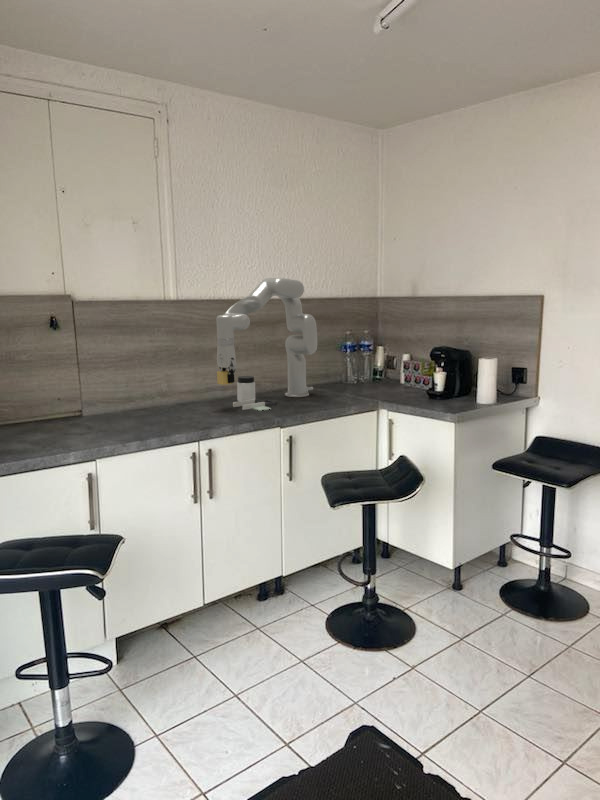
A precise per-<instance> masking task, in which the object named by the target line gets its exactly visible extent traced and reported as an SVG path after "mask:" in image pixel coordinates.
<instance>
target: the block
mask: <svg viewBox="0 0 600 800" xmlns="http://www.w3.org/2000/svg"><path fill="white" fill-rule="evenodd" d="M227 374H228V370H227V371H220V370H219V371H216V380H217V381H216V382H217V384H218V385H221V386H227V385H233V383H228V376H227Z"/></svg>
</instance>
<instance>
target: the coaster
mask: <svg viewBox="0 0 600 800" xmlns="http://www.w3.org/2000/svg"><path fill="white" fill-rule="evenodd" d="M269 409H270V410H272V407H269V406H260V407H253V408H252V409H251V410H255V411H257V410H258V411H257V412H263V411H262V410H264V411H270V410H269Z"/></svg>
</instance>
